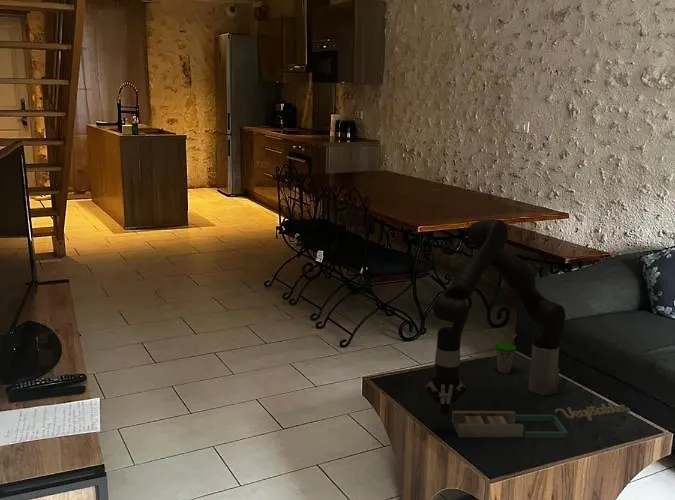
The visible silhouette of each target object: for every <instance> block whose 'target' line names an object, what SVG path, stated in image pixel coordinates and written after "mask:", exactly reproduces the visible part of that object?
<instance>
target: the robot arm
mask: <svg viewBox="0 0 675 500" xmlns="http://www.w3.org/2000/svg"><path fill="white" fill-rule="evenodd" d="M468 229H469V230H468V235H469V239H470V242H471V243H472V245H473V247H474V248H475V249H476V250H477V252H475V254H473V255H472V256H471V257H470V258H469V259H467V261H465V262H464V263H463V264H462V265H461V267H460V268H459V269H458V271H457V272H456V274H455V276H454V278H453V280H452V282H451V284H450V285H449V286H448V287H447V288H446V289H445V290H444V291H443V292H441V294H440V295H438V297H437V298H436V300H435V301H434V303H433V307H432V313H433V315H434V317H435V318H436V319H438V320H441V321H446V322H449V323H452V326H443V327H440V328H439V329H438V331H437V338H436V349H435V355H434V357H435V358H434V369H433V370H434V372H433V378H431V380H432V382H431V383H430V384H428V383H426V384H425V385H424V387H425V389H426V391H427V392H428V394H429V395H430V396H431V398H432V399H433V400H434V402H436V403H439V406H438V407H439V409H438V410H439V412H440V414H441V415H443V416H446V415H448V414H449V412H450V405H451V404H452V403H455V402H457V400H459V399H460V397H462V396H463V394H464V393H465V392H467V387H466V386H465V384H464V383H463V384H461V383H460V380H461V379H460V366H461V365H460V364H461V342H462V341H461V339H462V334H463V331H464V327H465V324H466V322H467V319H468V317H469V314H470V310H469V309H470V308H469V305H468V303H467V302H466V301H465V300H468V299H470V298H471V297H472V295H473V293H474V291H475V290H476V288H477V285H478V283H479V282H480V280H481V277H482V276H483V274H484V273H485V271H486V270H487V268H488V266H489V265H492V267H493V269H495V270H496V271H497V273H498V274H499V275H500V276H501V278H502V280H503V281H504V282H505V283H506V285H507V286H508V288H509V289H510V290H511V291H512V293H514V295H515V297H517V298H518V300H519V301H520V302H521V303H522V305H523V307H524V308H525V310H526V312H527V314H528V315H529V317H530V319H531V320H532V322H534V323H535V324H537V325H539V326H541V327H543V330H542V333H537V334H534V335H533V337H532V342H531V343H532V345H531V353H530V354H531V356H530V365H529V367H530V368H529V377H528V391H530V392H532V393H534V394H537V395H540V396H551V395H553V394H558V387H559V386H558V384H559V376H560V367H559V366H558V364H559V353H560V343H561V341H562V339H563V335H564V329H565V324H566V316H567V315H566V310H565V307H564V306H562V304H560V303H556V302H554V301H551V300H548V299H546V298H545V297H544V296H543V295H542V294H541V293H540V292H539V291H538V290H537V287H536V284H537V283H536V277H535V274H534V273H533V271H532V270H531V268H530V267H529V265H528V264H527V262H525V261H524V260H523V259H522V258H520V256H517V255H515V254H514V253H512V252H510V251H508V250H506V249H505V248H503V247H504V245H505V244H506V242H507V240H508V238H509V228H508V226H507V224H506V222H505V221H503V220H502V219H498V218H495V219H486V220H479V221H475V222H473V223H471V225H470V226H469V228H468ZM433 386H435V387H436V389H437V390H438V392H439V393H438V395H437V394H436V392H434V391H433V390H434V387H433ZM456 388H457V390H455V389H456Z"/></svg>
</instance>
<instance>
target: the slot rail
mask: <svg viewBox="0 0 675 500" xmlns="http://www.w3.org/2000/svg"><path fill="white" fill-rule="evenodd" d="M451 414H452V415H451V422H452V425H453V428H454V430H455V432H456V434H457V437H458V438H524V432H525V429H524V427H525V426H524V424H523V423H516V421H515V416H516V415H517V413H516V412H515V410H452V413H451ZM465 416H481V418H482V420H483V422H484V424H465V423H464V422H465ZM487 416H503V418H504V420H505V421H506V423H507V424H486V420H487Z"/></svg>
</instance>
